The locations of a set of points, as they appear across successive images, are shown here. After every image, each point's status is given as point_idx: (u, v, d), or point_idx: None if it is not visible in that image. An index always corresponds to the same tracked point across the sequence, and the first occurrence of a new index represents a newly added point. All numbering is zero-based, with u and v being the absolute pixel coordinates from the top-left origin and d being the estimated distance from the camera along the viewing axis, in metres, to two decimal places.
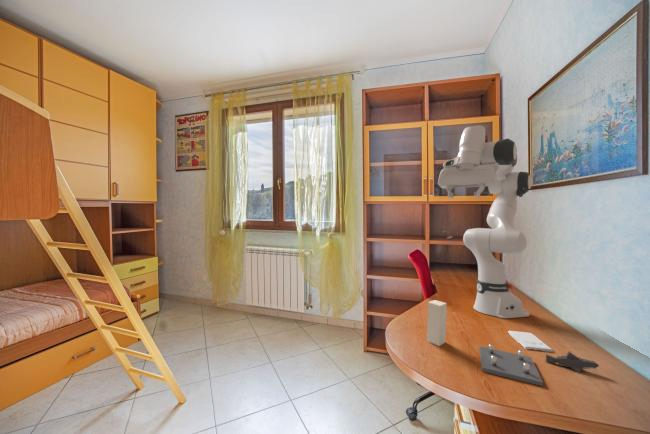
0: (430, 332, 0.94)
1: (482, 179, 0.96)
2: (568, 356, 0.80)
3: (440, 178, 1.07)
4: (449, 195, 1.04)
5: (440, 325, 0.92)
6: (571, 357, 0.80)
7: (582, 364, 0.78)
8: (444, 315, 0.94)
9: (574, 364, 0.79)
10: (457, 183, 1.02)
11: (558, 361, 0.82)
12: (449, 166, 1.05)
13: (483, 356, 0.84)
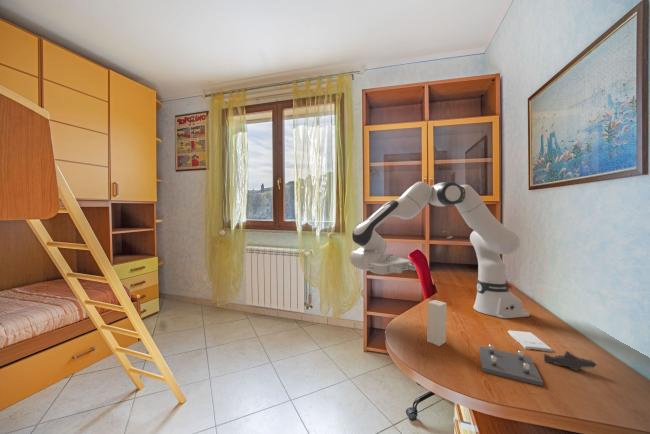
0: (430, 332, 0.94)
1: None
2: (566, 355, 0.81)
3: None
4: None
5: (440, 325, 0.92)
6: (569, 356, 0.80)
7: (580, 363, 0.79)
8: (444, 315, 0.94)
9: (572, 363, 0.80)
10: None
11: (556, 360, 0.82)
12: None
13: (483, 356, 0.84)
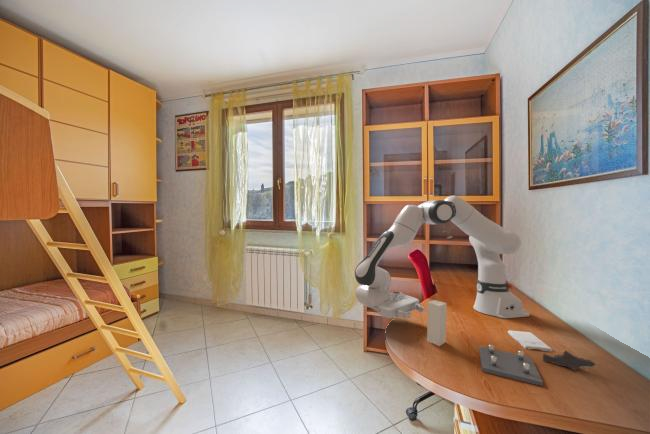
0: (430, 332, 0.94)
1: None
2: (565, 355, 0.81)
3: None
4: None
5: (440, 325, 0.92)
6: (568, 356, 0.80)
7: (579, 363, 0.79)
8: (444, 315, 0.94)
9: (571, 363, 0.80)
10: (408, 312, 1.07)
11: (555, 360, 0.82)
12: None
13: (483, 356, 0.84)
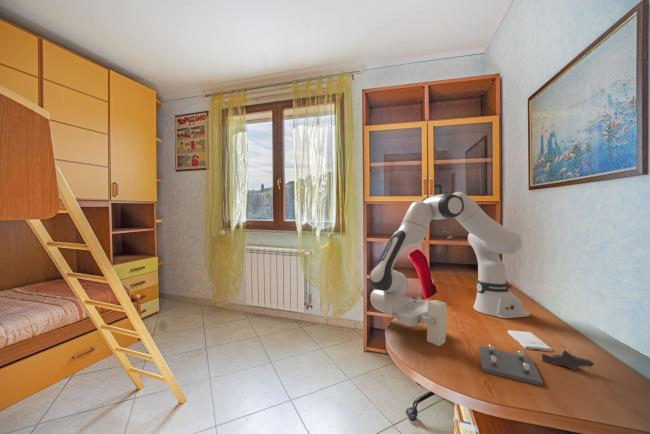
0: (430, 332, 0.94)
1: None
2: (564, 355, 0.81)
3: None
4: None
5: (440, 325, 0.92)
6: (567, 356, 0.81)
7: (578, 363, 0.79)
8: (444, 315, 0.94)
9: (570, 363, 0.80)
10: None
11: (554, 360, 0.82)
12: None
13: (483, 356, 0.84)
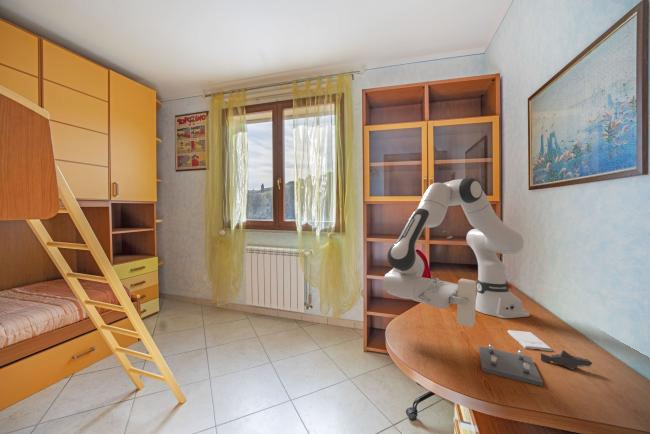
0: (461, 313, 0.86)
1: None
2: (562, 354, 0.81)
3: None
4: None
5: (473, 305, 0.84)
6: (565, 355, 0.81)
7: (576, 362, 0.79)
8: (475, 293, 0.86)
9: (568, 362, 0.80)
10: None
11: (553, 359, 0.82)
12: None
13: (483, 356, 0.84)
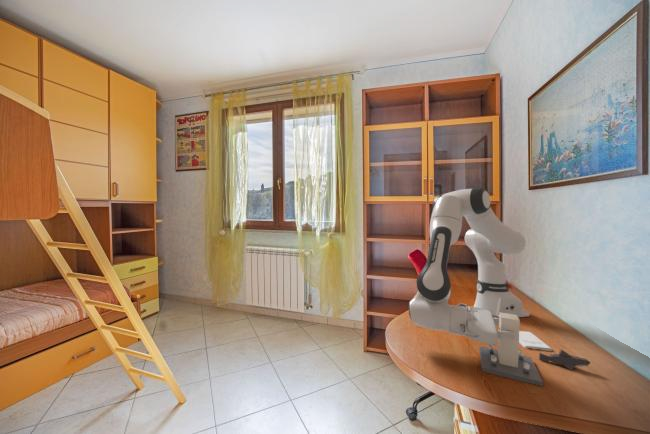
0: (504, 352, 0.79)
1: None
2: (561, 354, 0.81)
3: None
4: None
5: (518, 343, 0.78)
6: (564, 355, 0.81)
7: (574, 362, 0.80)
8: None
9: (567, 362, 0.80)
10: None
11: (551, 359, 0.83)
12: None
13: (483, 356, 0.84)
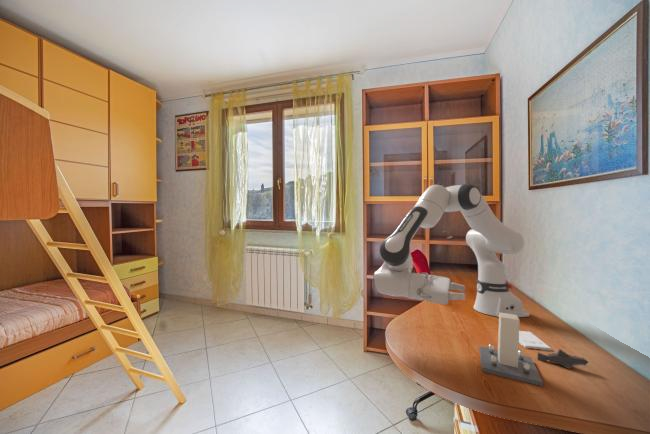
0: (504, 352, 0.79)
1: None
2: (559, 353, 0.82)
3: None
4: None
5: (518, 343, 0.78)
6: (562, 354, 0.81)
7: (572, 361, 0.80)
8: None
9: (565, 361, 0.81)
10: None
11: (549, 358, 0.83)
12: None
13: (483, 356, 0.84)
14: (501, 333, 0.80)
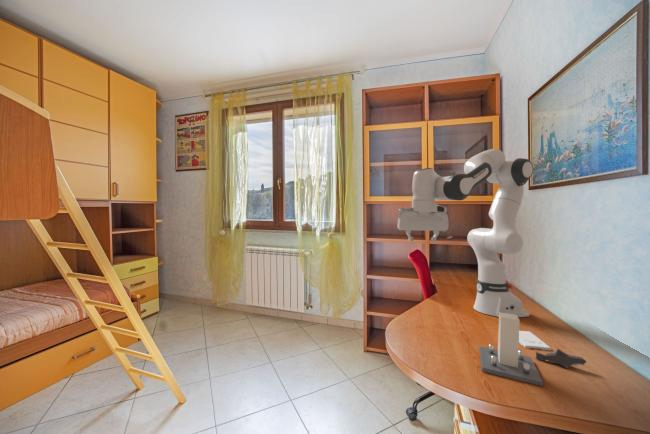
0: (504, 352, 0.79)
1: None
2: (557, 353, 0.82)
3: None
4: None
5: (518, 343, 0.78)
6: (560, 354, 0.82)
7: (571, 360, 0.80)
8: None
9: (563, 361, 0.81)
10: None
11: (548, 358, 0.83)
12: None
13: (483, 356, 0.84)
14: (501, 333, 0.80)
